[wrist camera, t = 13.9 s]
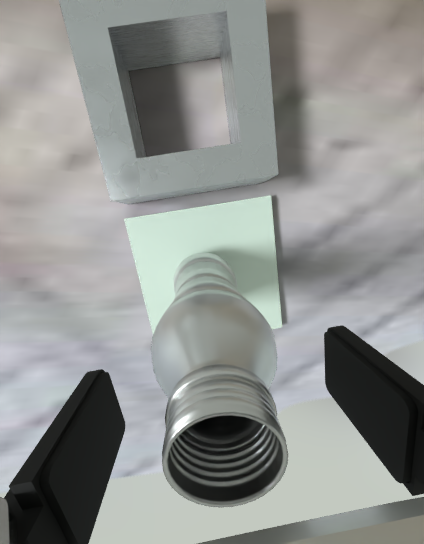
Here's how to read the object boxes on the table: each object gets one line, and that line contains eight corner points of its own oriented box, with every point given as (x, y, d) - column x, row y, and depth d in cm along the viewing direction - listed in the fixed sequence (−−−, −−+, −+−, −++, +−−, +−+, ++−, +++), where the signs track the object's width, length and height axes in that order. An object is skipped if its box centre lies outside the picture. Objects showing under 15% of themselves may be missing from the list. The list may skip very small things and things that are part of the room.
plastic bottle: (199, 236, 24) (203, 310, 5) (244, 273, 26) (384, 442, 6) (164, 280, 25) (57, 483, 6) (209, 313, 27) (240, 566, 7)
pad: (127, 218, 25) (124, 218, 24) (268, 196, 25) (271, 195, 24) (158, 344, 28) (156, 349, 27) (279, 323, 29) (282, 327, 28)
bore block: (88, 37, 20) (54, -19, 16) (247, 14, 21) (261, -47, 16) (128, 204, 24) (110, 200, 19) (262, 182, 24) (278, 174, 20)
